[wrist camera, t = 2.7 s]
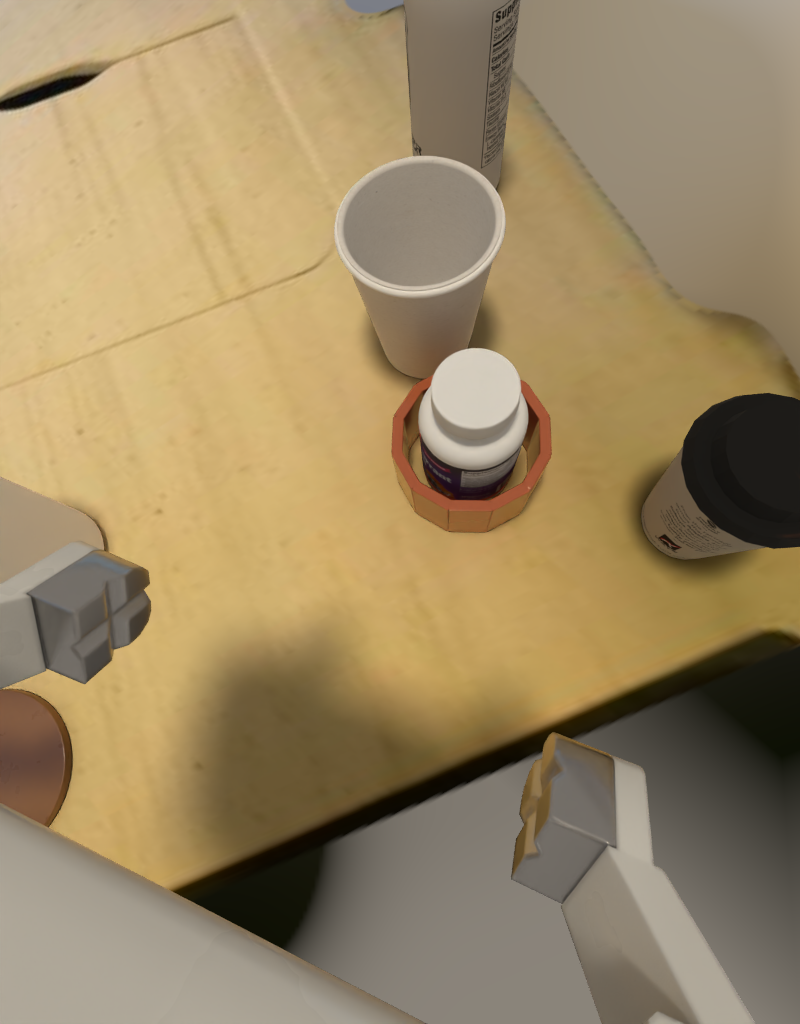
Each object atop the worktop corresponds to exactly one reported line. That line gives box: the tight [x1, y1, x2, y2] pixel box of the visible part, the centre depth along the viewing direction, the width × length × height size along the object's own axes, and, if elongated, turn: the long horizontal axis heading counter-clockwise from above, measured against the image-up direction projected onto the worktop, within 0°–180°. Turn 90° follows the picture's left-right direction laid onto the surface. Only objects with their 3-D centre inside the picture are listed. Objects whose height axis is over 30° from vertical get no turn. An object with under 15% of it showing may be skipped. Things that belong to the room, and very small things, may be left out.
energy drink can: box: [404, 0, 520, 189], centre depth 32 cm, size 6×6×15 cm
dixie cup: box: [334, 156, 506, 379], centre depth 31 cm, size 8×8×10 cm
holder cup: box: [392, 375, 552, 532], centre depth 31 cm, size 8×8×4 cm
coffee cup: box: [641, 393, 800, 560], centre depth 26 cm, size 7×7×10 cm
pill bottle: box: [418, 348, 528, 500], centre depth 28 cm, size 5×5×10 cm
